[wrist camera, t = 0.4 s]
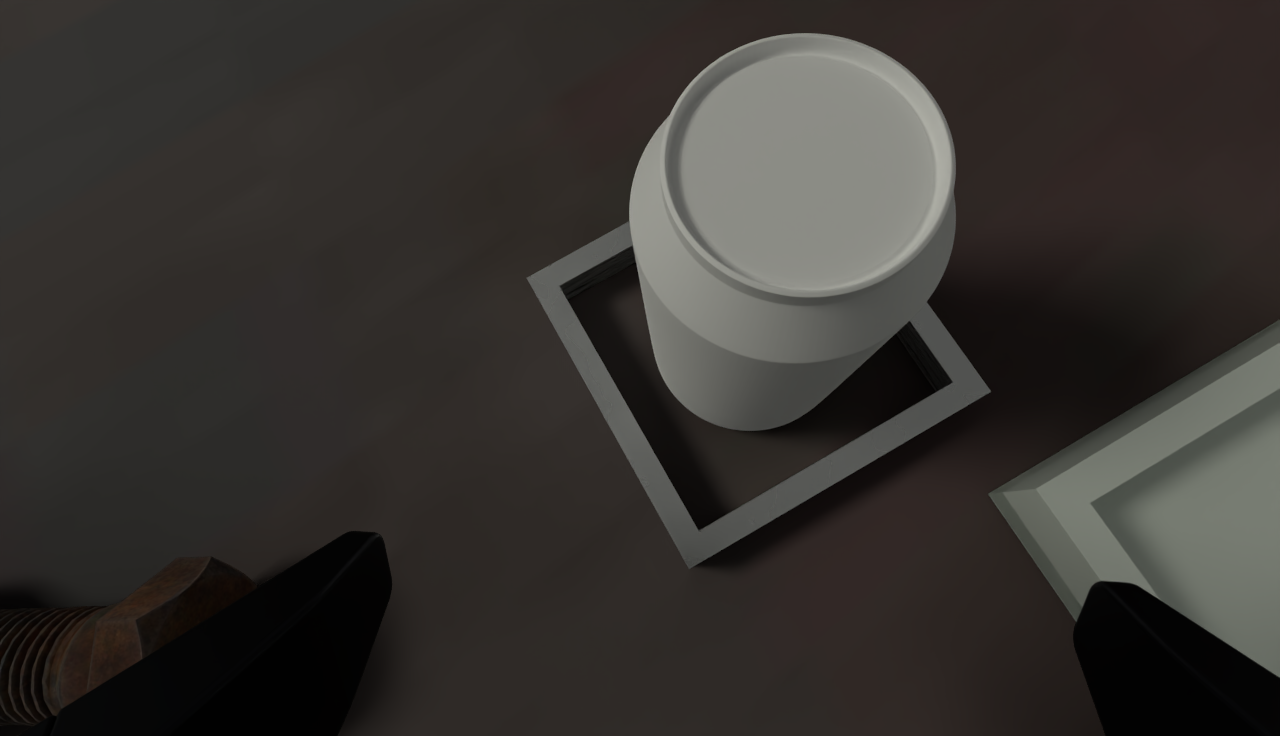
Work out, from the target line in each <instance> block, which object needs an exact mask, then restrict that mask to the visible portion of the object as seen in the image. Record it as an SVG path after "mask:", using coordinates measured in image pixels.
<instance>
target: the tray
mask: <svg viewBox="0 0 1280 736" xmlns="http://www.w3.org/2000/svg"><path fill="white" fill-rule="evenodd" d="M988 495H989V496H990V498H991V499H992V501H993V502H994V504H995V505H996V506H997V508H998V509H999V511H1000V512H1001V514H1002V515H1003V517H1004V518H1005V520H1006V521H1007V522H1008V524H1009V525H1010V527H1011V528H1012V530H1013V531H1014V533H1015V534H1016V535H1017V537H1018V538H1019V540H1020V541H1021V543H1022V544H1023V546H1024V547H1025V549H1026V550H1027V551H1028V553H1029V554H1030V556H1031V557H1032V559H1033V560H1034V562H1035V563H1036V565H1037V566H1038V567H1039V569H1040V570H1041V572H1042V573H1043V575H1044V576H1045V578H1046V579H1047V580H1048V582H1049V583H1050V585H1051V586H1052V588H1053V589H1054V591H1055V592H1056V594H1057V595H1058V596H1059V598H1060V599H1061V601H1062V602H1063V604H1064V605H1065V607H1066V608H1067V610H1068V611H1069V612H1070V614H1071V615H1072V617H1073V618H1074V620H1075V621H1076V622H1077V619H1078V617H1079V614H1080V612H1081V609H1082V607H1083V604H1084V602H1085V599H1086V597H1087V594H1088V592H1089V590H1090V588H1091V586H1092V585H1093V584H1094V583H1096V582H1098V581H1114V582H1128V583H1133V584H1135V585H1138V586H1139V587H1141V588H1143V589H1144V590H1146V591H1147V592H1149V593H1150V594H1152V595H1153V596H1155V597H1156V598H1158V599H1159V600H1161V601H1163V602H1164V603H1166V604H1167V605H1169V606H1170V607H1172V608H1173V609H1175V610H1176V611H1178V612H1179V613H1181V614H1183V615H1184V616H1186V617H1187V618H1189V619H1190V620H1192V621H1193V622H1195V623H1196V624H1198V625H1200V626H1201V627H1203V628H1204V629H1206V630H1207V631H1209V632H1210V633H1212V634H1213V635H1215V636H1216V637H1218V638H1220V639H1221V640H1223V641H1224V642H1226V643H1227V644H1229V645H1230V646H1232V647H1233V648H1235V649H1237V650H1238V651H1240V652H1241V653H1243V654H1244V655H1246V656H1247V657H1249V658H1250V659H1252V660H1253V661H1255V662H1257V663H1258V664H1260V665H1261V666H1263V667H1264V668H1266V669H1267V670H1269V671H1270V672H1272V673H1274V674H1275V675H1277V676H1278V677H1280V320H1278V321H1277V322H1275V323H1273V324H1272V325H1270V326H1268V327H1267V328H1265V329H1263V330H1262V331H1260V332H1258V333H1257V334H1255V335H1253V336H1252V337H1250V338H1248V339H1247V340H1245V341H1243V342H1242V343H1240V344H1238V345H1237V346H1235V347H1233V348H1232V349H1230V350H1228V351H1226V352H1225V353H1223V354H1221V355H1220V356H1218V357H1216V358H1215V359H1213V360H1211V361H1210V362H1208V363H1206V364H1205V365H1203V366H1201V367H1200V368H1198V369H1196V370H1195V371H1193V372H1191V373H1190V374H1188V375H1186V376H1185V377H1183V378H1181V379H1180V380H1178V381H1176V382H1175V383H1173V384H1171V385H1170V386H1168V387H1166V388H1165V389H1163V390H1161V391H1160V392H1158V393H1156V394H1154V395H1153V396H1151V397H1149V398H1148V399H1146V400H1144V401H1143V402H1141V403H1139V404H1138V405H1136V406H1134V407H1133V408H1131V409H1129V410H1128V411H1126V412H1124V413H1123V414H1121V415H1119V416H1118V417H1116V418H1114V419H1113V420H1111V421H1109V422H1108V423H1106V424H1104V425H1103V426H1101V427H1099V428H1098V429H1096V430H1094V431H1093V432H1091V433H1089V434H1088V435H1086V436H1084V437H1083V438H1081V439H1079V440H1077V441H1076V442H1074V443H1072V444H1071V445H1069V446H1067V447H1066V448H1064V449H1062V450H1061V451H1059V452H1057V453H1056V454H1054V455H1052V456H1051V457H1049V458H1047V459H1046V460H1044V461H1042V462H1041V463H1039V464H1037V465H1036V466H1034V467H1032V468H1031V469H1029V470H1027V471H1026V472H1024V473H1022V474H1021V475H1019V476H1017V477H1016V478H1014V479H1012V480H1011V481H1009V482H1007V483H1006V484H1004V485H1002V486H1000V487H999V488H997V489H995V490H994V491H992V492H990V493H989V494H988Z"/></svg>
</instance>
